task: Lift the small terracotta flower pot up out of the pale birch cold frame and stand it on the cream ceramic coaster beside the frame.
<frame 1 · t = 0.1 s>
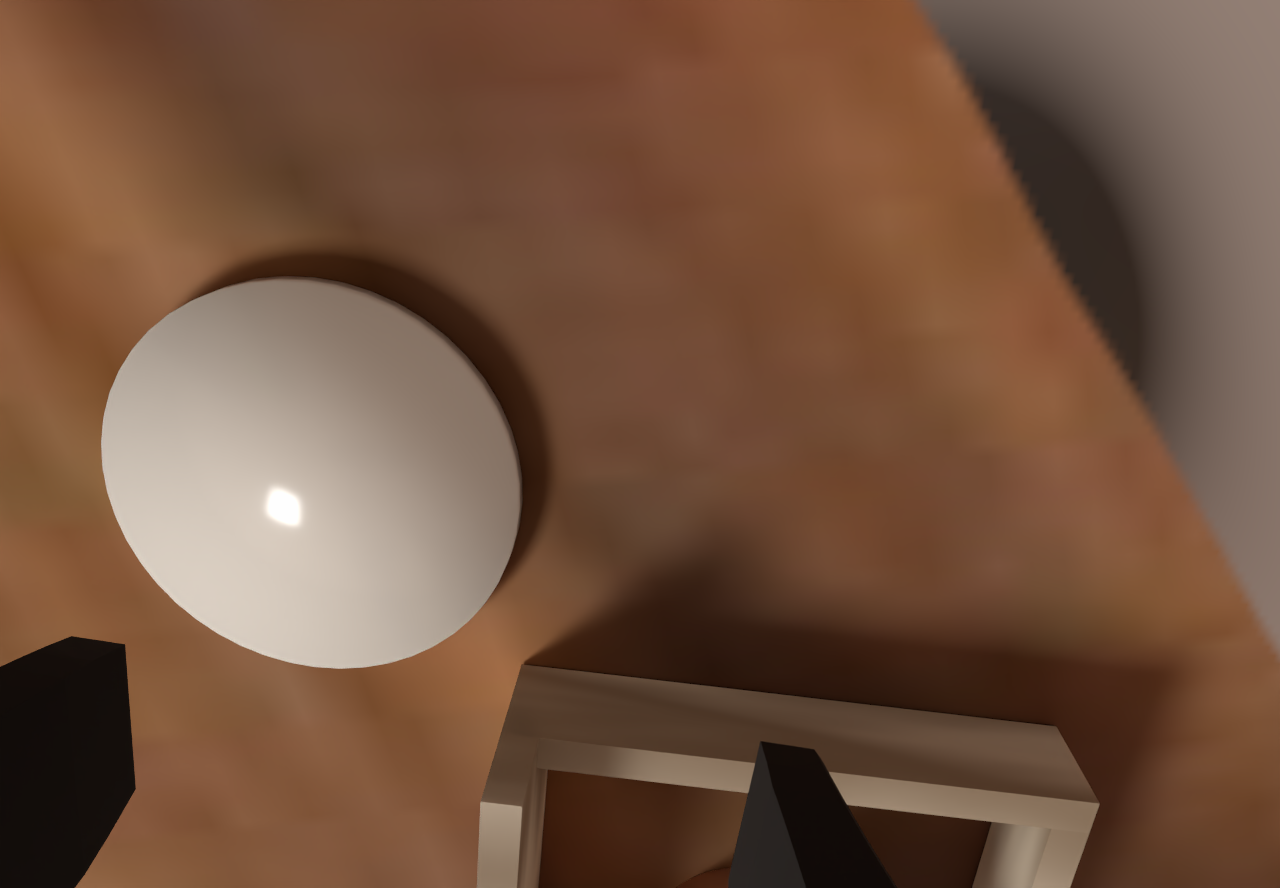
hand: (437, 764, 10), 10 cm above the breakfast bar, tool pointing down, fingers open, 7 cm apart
coaster: (319, 479, 20), on the breakfast bar
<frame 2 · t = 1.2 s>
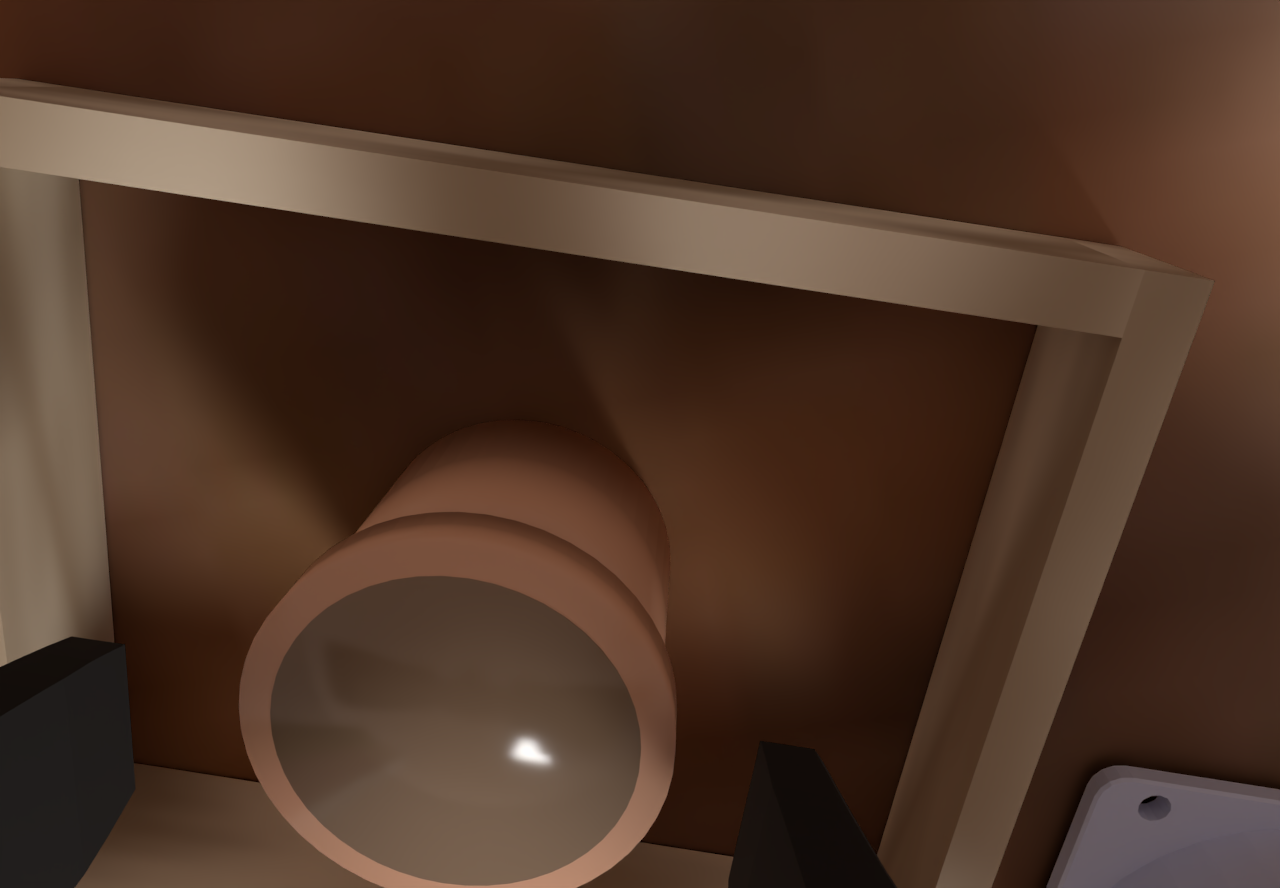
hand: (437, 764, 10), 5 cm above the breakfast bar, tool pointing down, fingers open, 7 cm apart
cold frame: (523, 558, 15), on the breakfast bar
flower pot: (495, 634, 13), in the cold frame
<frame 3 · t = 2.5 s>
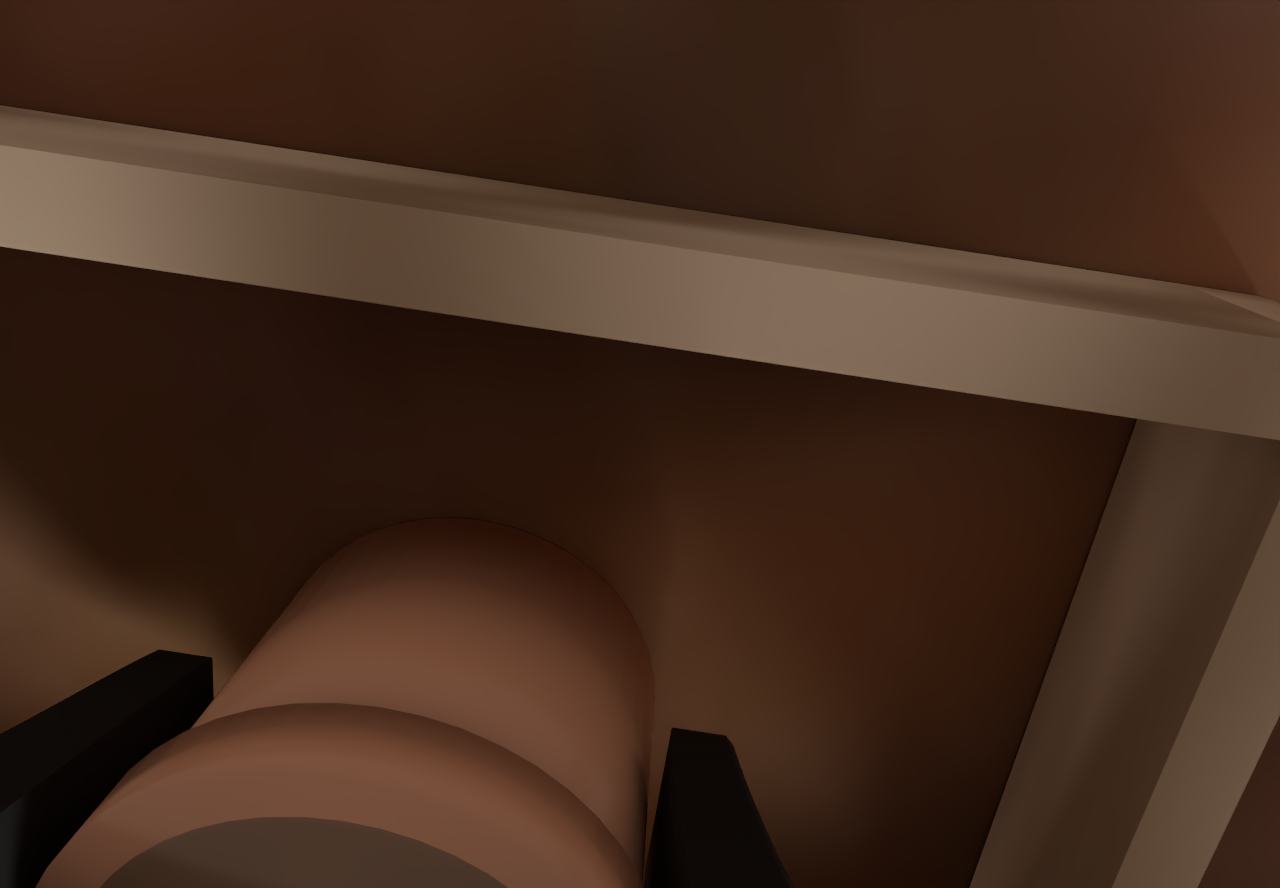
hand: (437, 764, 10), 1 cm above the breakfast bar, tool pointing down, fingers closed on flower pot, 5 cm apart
cold frame: (466, 689, 12), on the breakfast bar
flower pot: (415, 823, 10), in the cold frame, touching gripper
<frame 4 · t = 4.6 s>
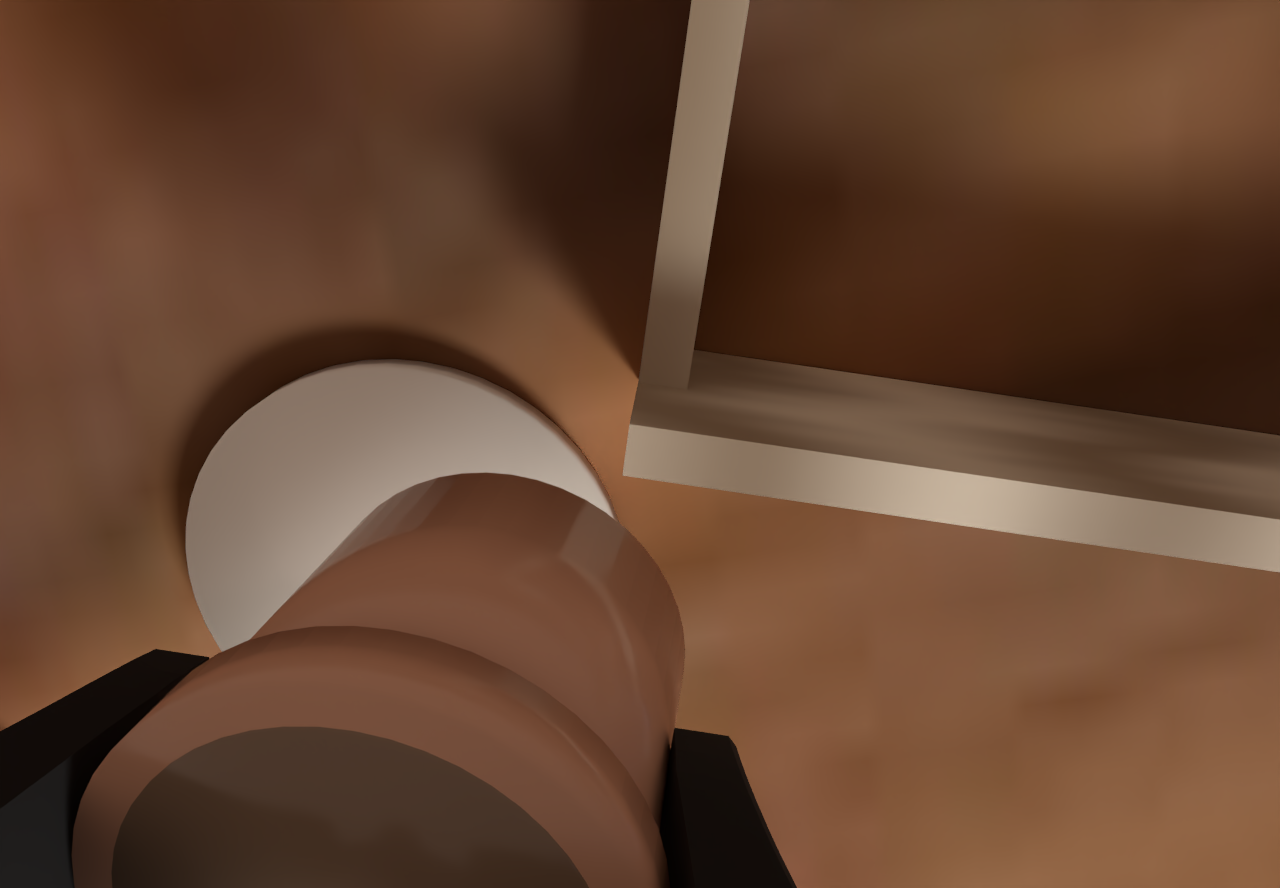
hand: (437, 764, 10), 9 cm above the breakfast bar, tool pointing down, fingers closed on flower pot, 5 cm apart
cold frame: (1159, 90, 15), on the breakfast bar
coaster: (412, 566, 19), on the breakfast bar
flower pot: (445, 760, 10), point 9 cm above the breakfast bar, touching gripper
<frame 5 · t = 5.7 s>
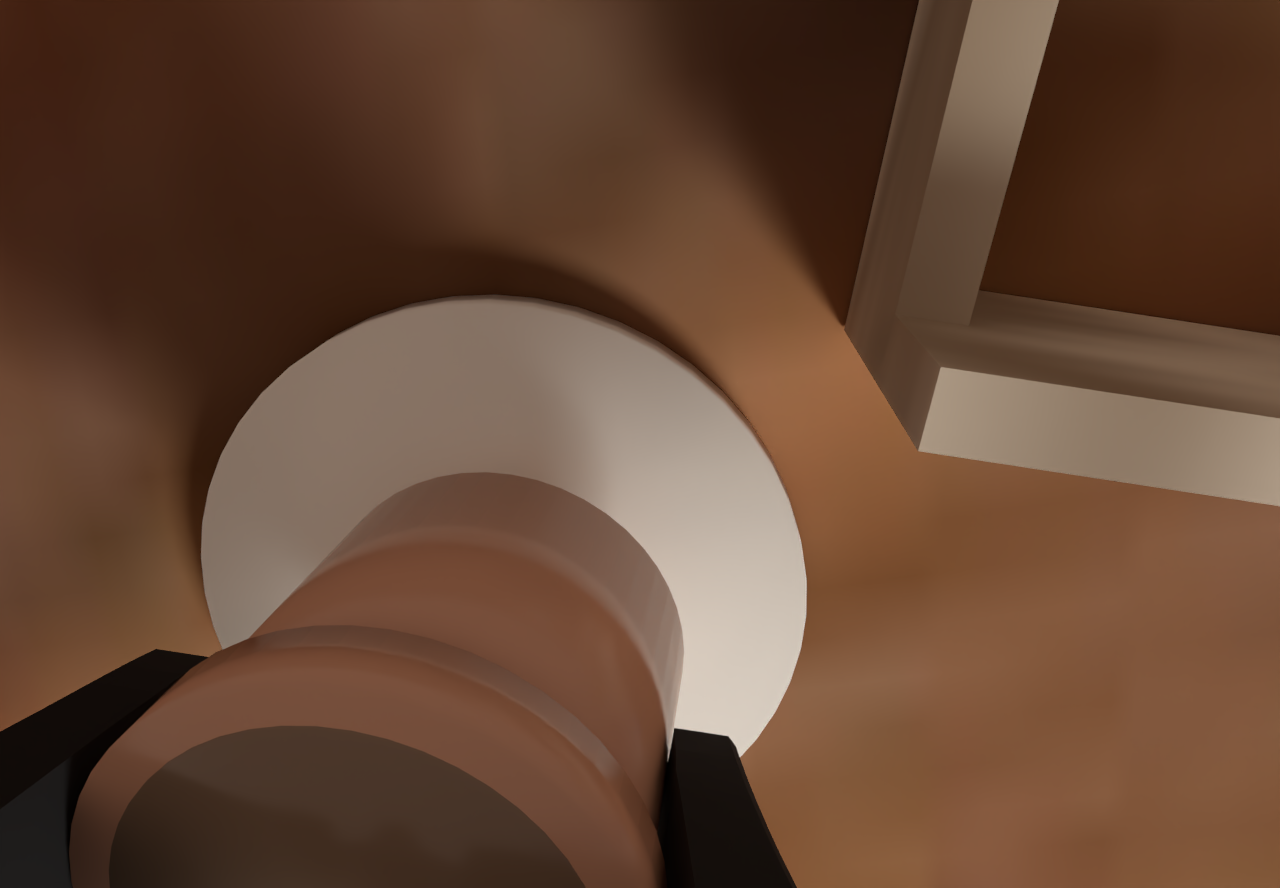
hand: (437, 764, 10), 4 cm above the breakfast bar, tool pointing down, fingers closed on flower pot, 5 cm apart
coaster: (508, 583, 14), on the breakfast bar
flower pot: (443, 759, 10), point 4 cm above the breakfast bar, touching gripper
when the fingers open (3 cm above the breakfast bar, at t = 6.8 s): flower pot stays where it is, resting on coaster.
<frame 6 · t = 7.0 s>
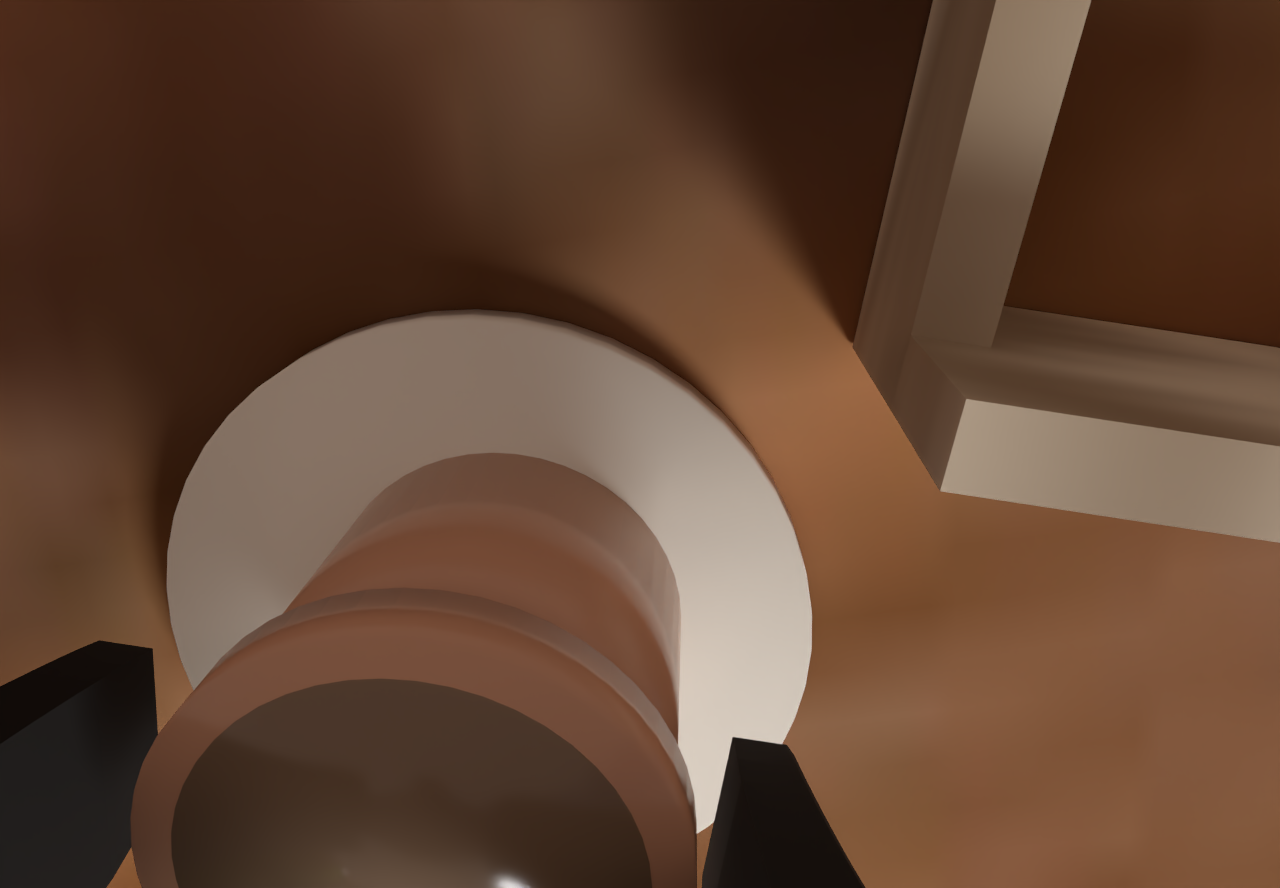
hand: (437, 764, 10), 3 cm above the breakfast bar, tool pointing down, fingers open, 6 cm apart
coaster: (494, 614, 13), on the breakfast bar
flower pot: (468, 722, 11), on the coaster, point 3 cm above the breakfast bar
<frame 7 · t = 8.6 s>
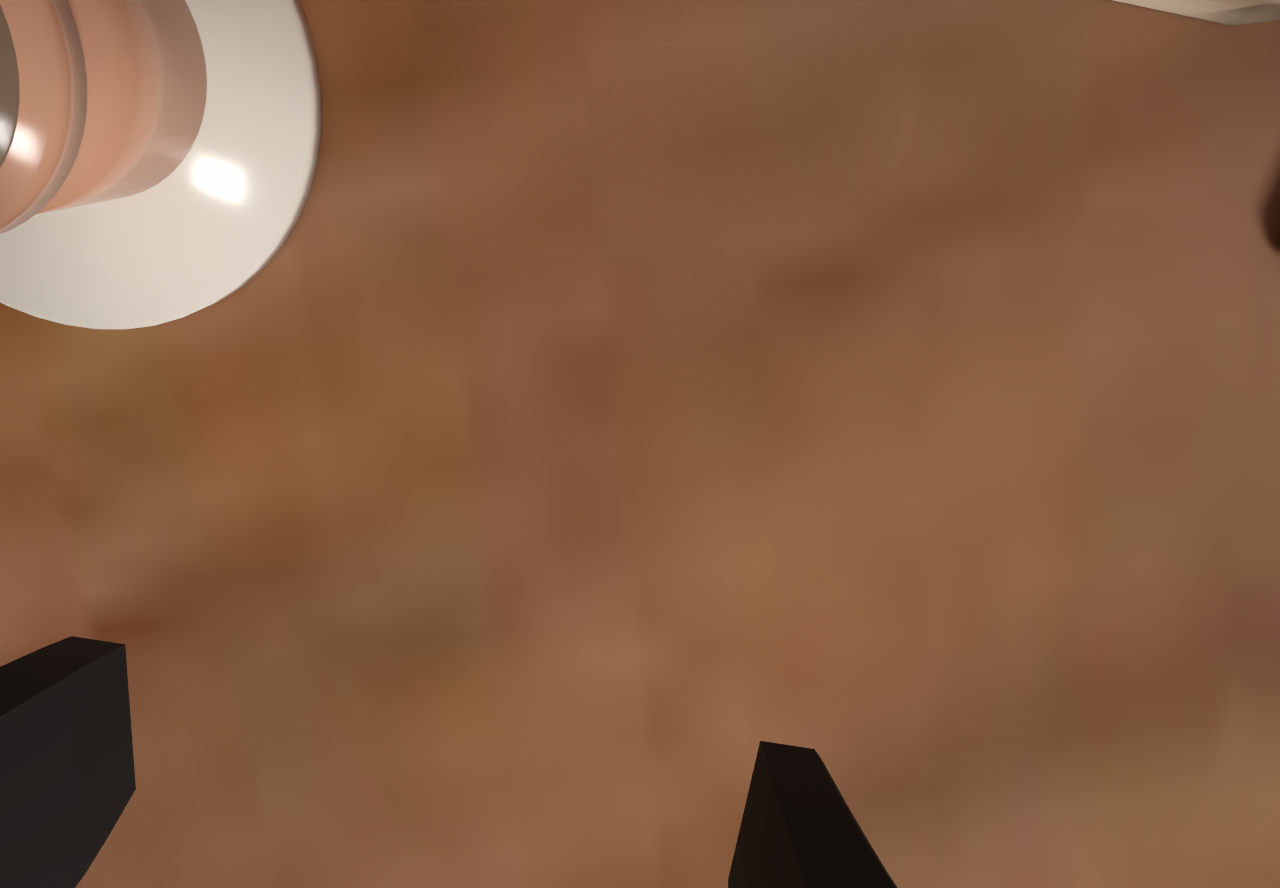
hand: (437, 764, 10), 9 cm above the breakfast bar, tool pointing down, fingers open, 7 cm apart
coaster: (78, 81, 17), on the breakfast bar
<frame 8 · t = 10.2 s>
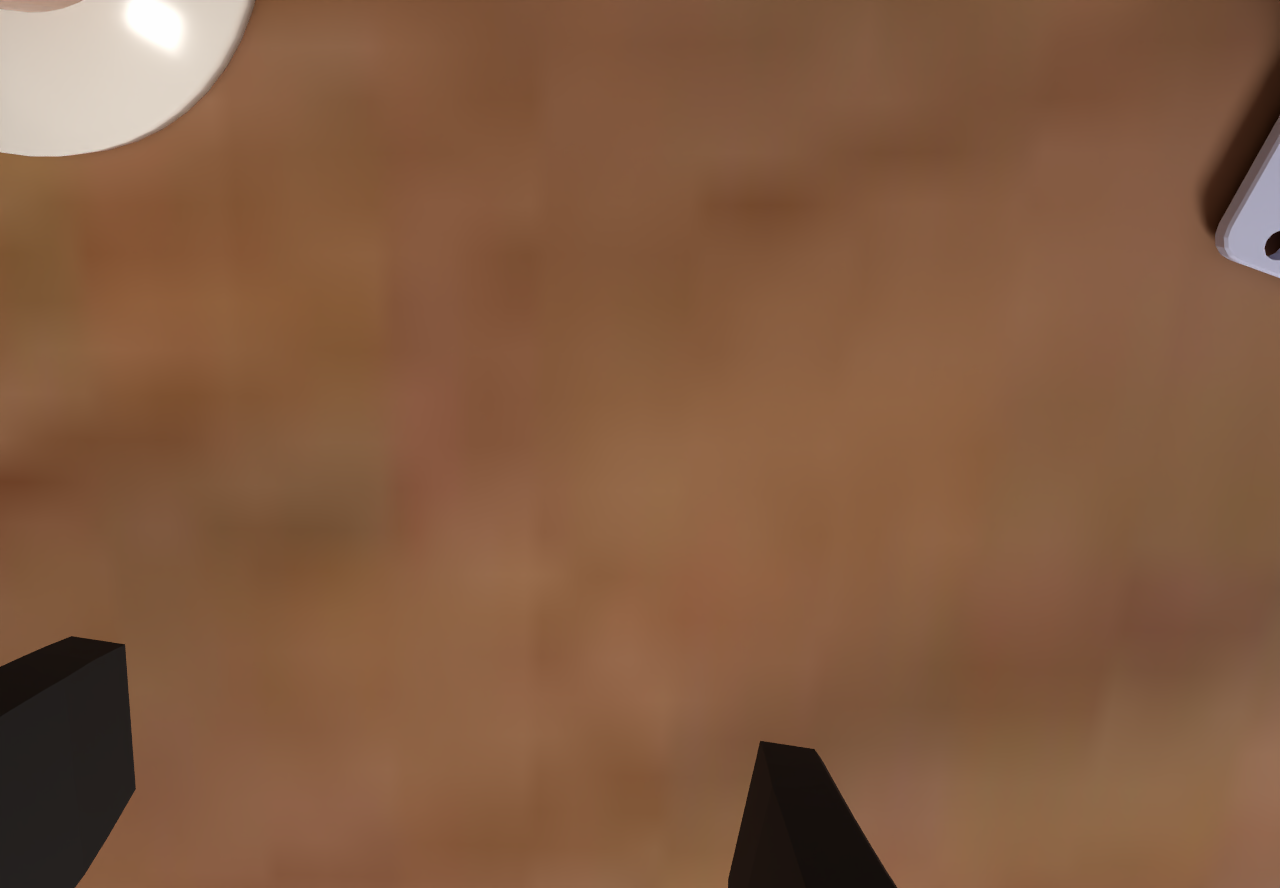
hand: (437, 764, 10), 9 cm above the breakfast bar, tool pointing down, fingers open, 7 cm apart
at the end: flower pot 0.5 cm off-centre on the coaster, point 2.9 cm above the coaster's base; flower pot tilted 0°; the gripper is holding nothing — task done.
